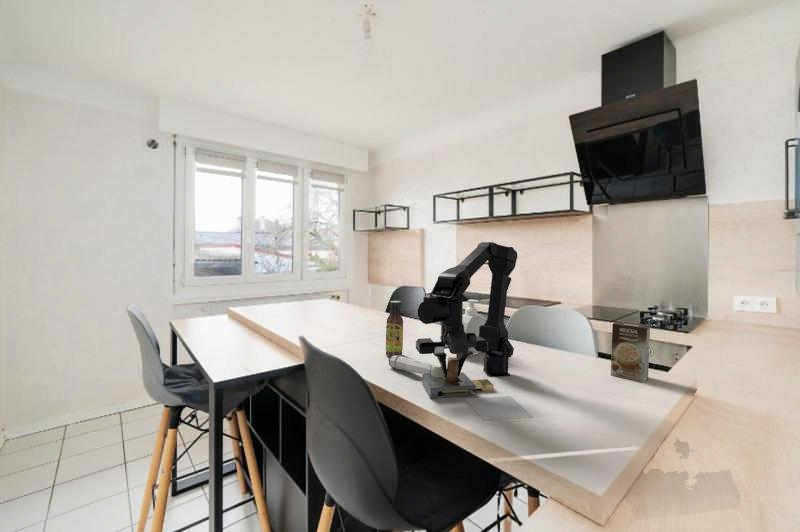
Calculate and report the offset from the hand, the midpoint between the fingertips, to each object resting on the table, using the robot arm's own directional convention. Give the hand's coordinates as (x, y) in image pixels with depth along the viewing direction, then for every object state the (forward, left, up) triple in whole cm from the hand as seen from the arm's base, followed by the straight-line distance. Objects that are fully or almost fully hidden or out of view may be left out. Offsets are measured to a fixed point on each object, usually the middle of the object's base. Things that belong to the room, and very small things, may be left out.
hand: (451, 376), depth 97 cm
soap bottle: (-18, -35, -4) cm, 40 cm away
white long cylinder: (+7, -12, -4) cm, 15 cm away
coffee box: (-57, -4, -4) cm, 57 cm away
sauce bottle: (+11, -36, -4) cm, 38 cm away
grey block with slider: (-2, 0, -4) cm, 5 cm away
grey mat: (-8, +12, -4) cm, 15 cm away
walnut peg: (0, 0, -1) cm, 1 cm away
